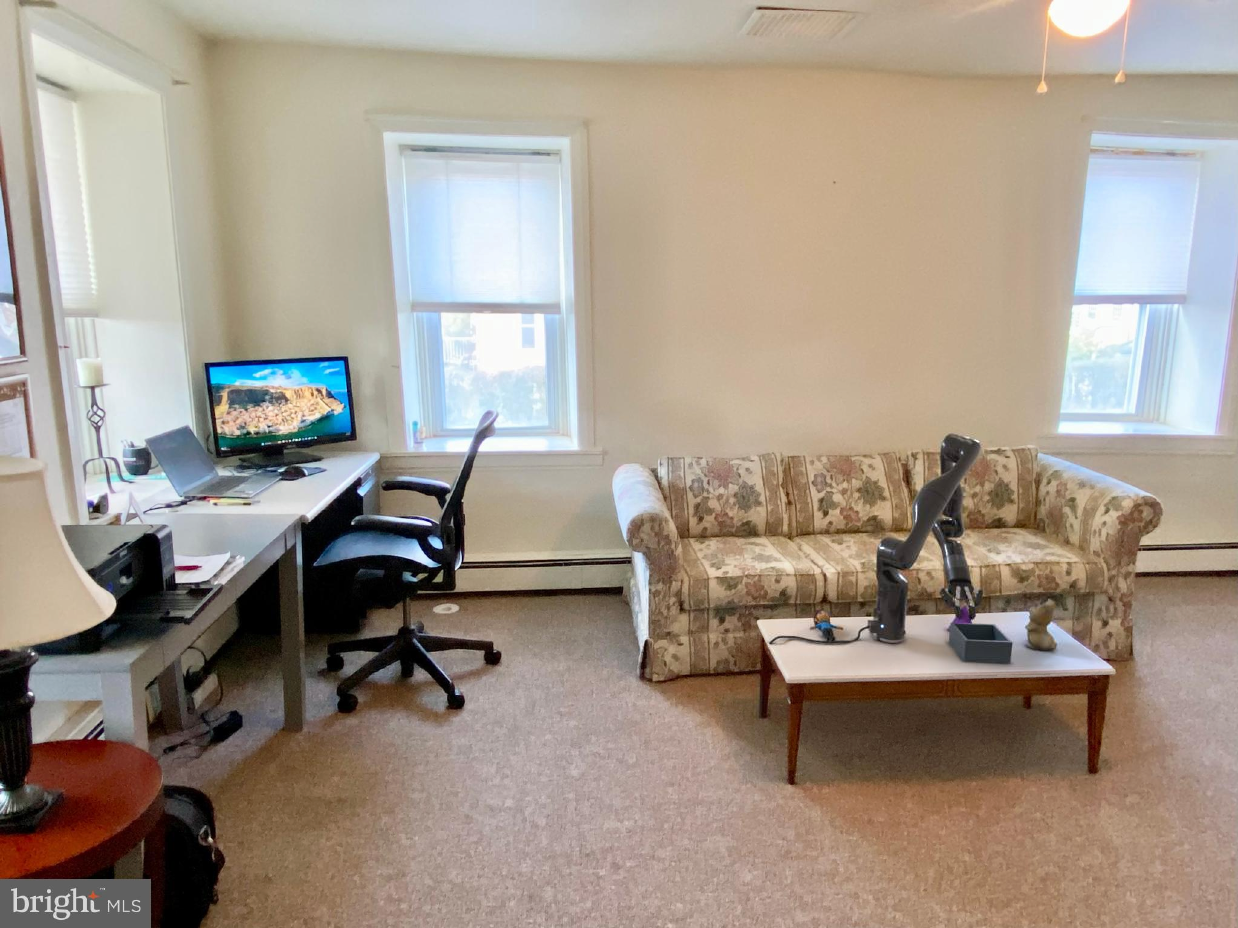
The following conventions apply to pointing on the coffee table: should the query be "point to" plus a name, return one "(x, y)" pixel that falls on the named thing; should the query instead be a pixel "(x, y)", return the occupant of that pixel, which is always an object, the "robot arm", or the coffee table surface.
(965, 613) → the arrowhead
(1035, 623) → the figurine
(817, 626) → the toy
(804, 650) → the coffee table surface
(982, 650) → the bin
